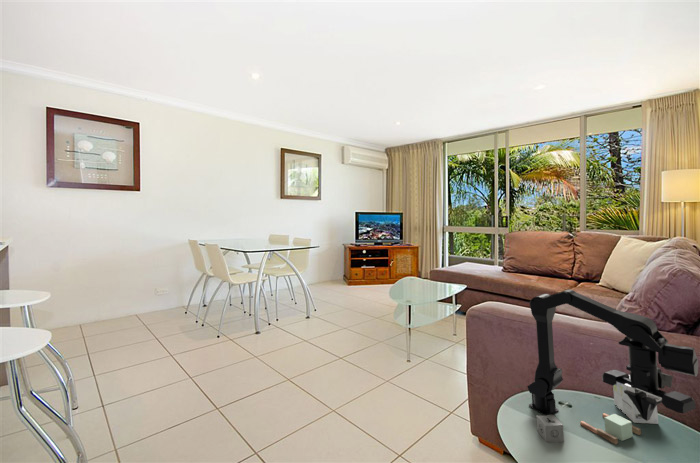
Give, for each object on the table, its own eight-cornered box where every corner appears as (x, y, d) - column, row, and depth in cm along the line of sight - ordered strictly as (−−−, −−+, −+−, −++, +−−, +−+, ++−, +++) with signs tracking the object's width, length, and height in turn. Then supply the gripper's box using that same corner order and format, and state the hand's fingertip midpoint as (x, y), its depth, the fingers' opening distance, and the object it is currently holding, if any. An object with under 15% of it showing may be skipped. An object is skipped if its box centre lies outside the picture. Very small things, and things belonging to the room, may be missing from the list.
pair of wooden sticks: (580, 424, 100) (580, 420, 100) (604, 416, 104) (604, 411, 104) (615, 444, 91) (615, 439, 91) (640, 434, 94) (640, 429, 94)
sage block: (605, 432, 96) (604, 417, 96) (615, 428, 98) (614, 413, 98) (622, 441, 92) (621, 425, 92) (632, 437, 93) (631, 421, 93)
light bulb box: (659, 424, 98) (657, 389, 98) (634, 423, 99) (631, 389, 99) (635, 405, 108) (633, 374, 108) (613, 404, 110) (611, 373, 110)
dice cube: (546, 442, 94) (545, 425, 94) (537, 431, 99) (536, 415, 99) (564, 442, 93) (562, 425, 93) (554, 431, 98) (553, 415, 98)
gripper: (707, 371, 81) (710, 431, 81) (624, 347, 99) (627, 396, 99) (679, 380, 78) (683, 443, 78) (599, 353, 96) (602, 405, 96)
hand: (646, 419), depth 88 cm, fingers closed
